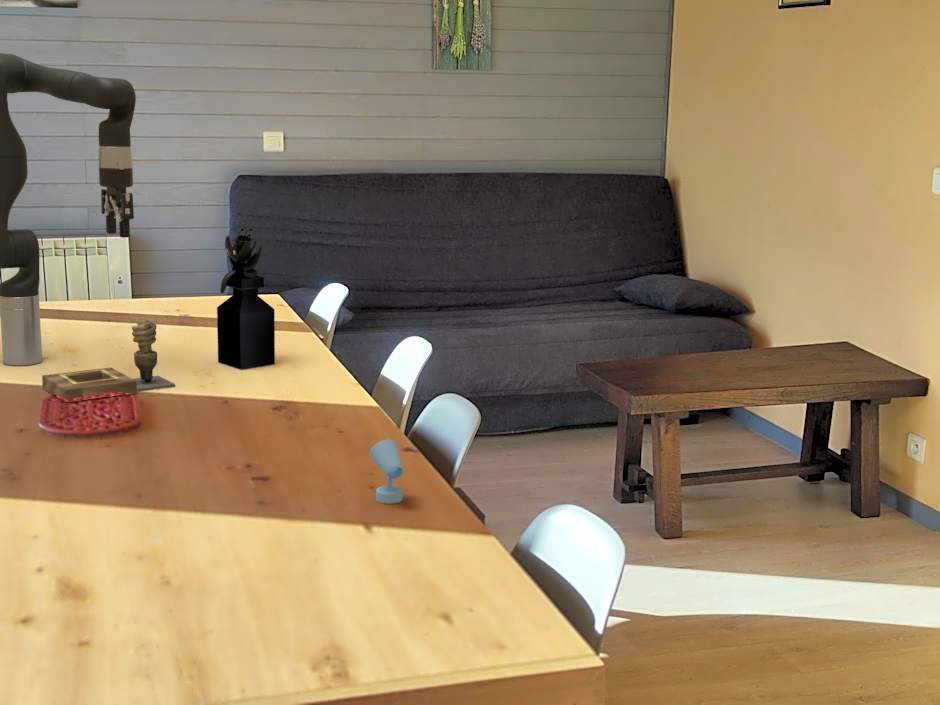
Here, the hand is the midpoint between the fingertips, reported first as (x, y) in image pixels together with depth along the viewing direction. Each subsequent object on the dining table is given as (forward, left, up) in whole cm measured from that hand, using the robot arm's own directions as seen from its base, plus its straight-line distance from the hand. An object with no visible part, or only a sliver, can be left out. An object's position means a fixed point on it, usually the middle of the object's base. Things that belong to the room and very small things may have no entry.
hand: (118, 235), depth 258 cm
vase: (+3, +31, -34) cm, 46 cm away
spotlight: (+108, +5, -34) cm, 113 cm away
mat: (+12, +1, -34) cm, 36 cm away
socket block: (+11, -12, -34) cm, 38 cm away
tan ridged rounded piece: (+12, +1, -34) cm, 36 cm away
